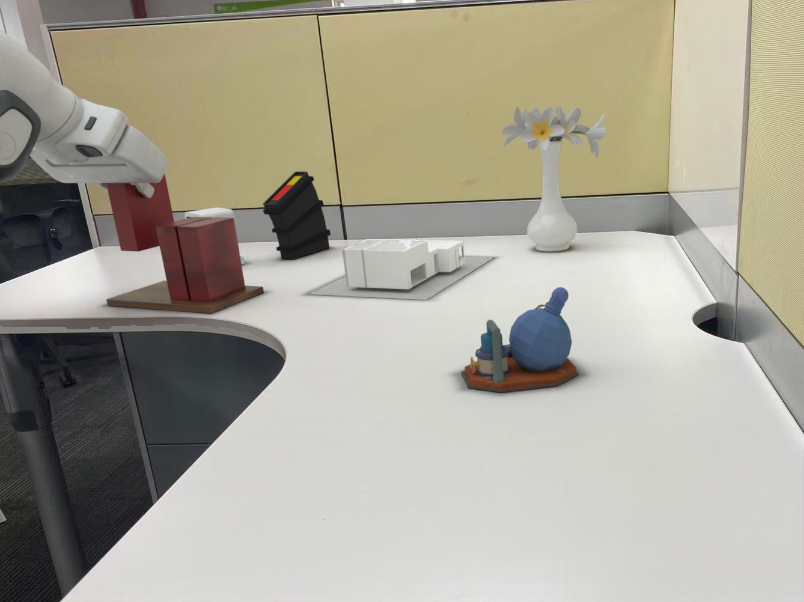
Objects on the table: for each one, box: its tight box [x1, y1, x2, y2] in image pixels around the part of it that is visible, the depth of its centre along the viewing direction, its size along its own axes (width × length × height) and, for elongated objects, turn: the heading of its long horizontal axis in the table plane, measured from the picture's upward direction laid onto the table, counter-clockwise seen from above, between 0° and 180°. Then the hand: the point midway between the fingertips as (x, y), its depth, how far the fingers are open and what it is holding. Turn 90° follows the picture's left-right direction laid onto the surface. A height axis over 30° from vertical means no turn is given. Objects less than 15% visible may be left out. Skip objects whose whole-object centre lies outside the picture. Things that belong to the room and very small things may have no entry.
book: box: [106, 172, 175, 252], centre depth 121 cm, size 8×4×11 cm, turn 158°
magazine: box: [262, 170, 332, 260], centre depth 151 cm, size 4×13×15 cm, turn 153°
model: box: [460, 286, 579, 393], centre depth 85 cm, size 12×9×9 cm
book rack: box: [106, 217, 265, 314], centre depth 122 cm, size 12×20×12 cm, turn 69°
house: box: [309, 238, 494, 301], centre depth 129 cm, size 22×18×6 cm
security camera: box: [184, 207, 246, 265], centre depth 145 cm, size 6×7×10 cm
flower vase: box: [501, 105, 607, 253], centre depth 144 cm, size 13×18×25 cm
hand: (137, 194), depth 120 cm, fingers closed on book, 3 cm apart
